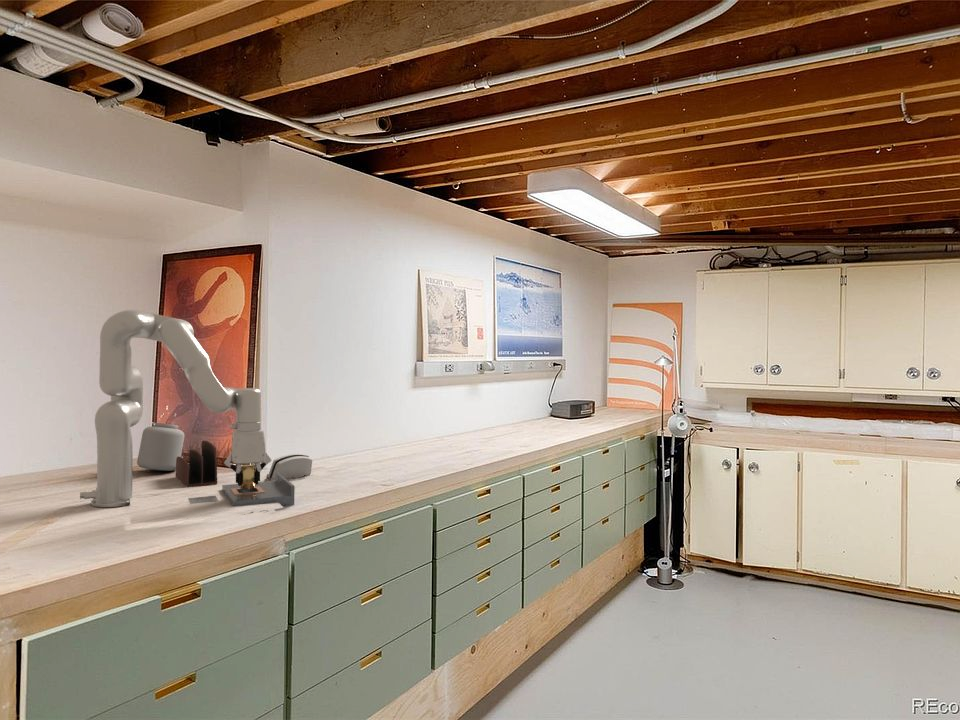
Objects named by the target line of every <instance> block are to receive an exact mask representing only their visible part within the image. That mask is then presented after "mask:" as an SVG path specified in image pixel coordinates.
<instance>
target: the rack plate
mask: <svg viewBox="0 0 960 720" xmlns="http://www.w3.org/2000/svg"><path fill="white" fill-rule="evenodd" d="M221 487H222V488H221V490H222V491H223V493H224V494H225V496H226V497H227V499H228V501H229V502H230V504H231V506H232V507H238V506H239V507H241V506H250V505H260V504H261V505H262V504H268V503H269V504H271V503H279V505H280V506H281V507H287V506H294V505H295V488H296V487H295V485H294V484H293V483H292V482H291V481H290V480H288V479H286V478H285V477H284V476H282V475H281V474H280V473H279V472H275V481H272V480H270V481H258V484H255V488H254V489H240V486H239V485H238V483H234V484H231V483H230V484H222V485H221Z"/></svg>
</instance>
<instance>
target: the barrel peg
mask: <svg viewBox="0 0 960 720" xmlns="http://www.w3.org/2000/svg"><path fill="white" fill-rule="evenodd" d="M255 469H256V466H255V464H242V465H241V469H240V471H241V474H242V484H241V486H240V489H254V488H255Z"/></svg>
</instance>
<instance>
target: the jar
mask: <svg viewBox="0 0 960 720" xmlns="http://www.w3.org/2000/svg"><path fill="white" fill-rule="evenodd" d="M168 407H169V405H166V410H168ZM167 414H170V413H169V412H168V413H167ZM174 414H175V415H174V416H176V415H177V414H176V413H174ZM162 417H163V415H162V414H161V416H160V418H162ZM160 418H159V419H158V420H160ZM151 422H152V421H151ZM184 441H185V433H184V431H183V430H181V429H179V425H177V424H170V423H161V422H152V426H147V427H145V428H144V429H143V431H142V434H141V439H140V443H139V444H140V446H139V450H138V454H137V461H136V464H137V466H138V467H139V468H141V469H146V470H154V471H155V470H156V471H166V472H169V471H176V458H177V457H178V456H179V457H182V454H183V453H182V452H183V448H184Z"/></svg>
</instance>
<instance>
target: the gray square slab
mask: <svg viewBox="0 0 960 720" xmlns="http://www.w3.org/2000/svg"><path fill="white" fill-rule="evenodd" d="M219 501H220V500H219V498H218V497H217V495H209V496H198V497H188V502H189V503H190V504H191V505H192V504H193V505H194V504H204V503H205V504H206V503H214V502H215V503H216V502H219Z"/></svg>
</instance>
